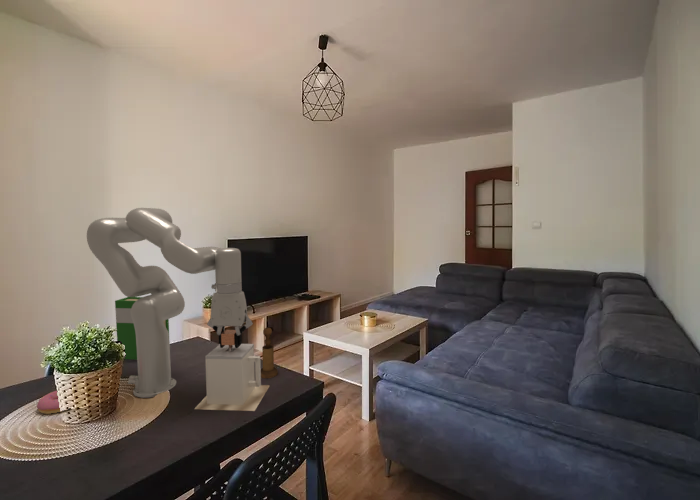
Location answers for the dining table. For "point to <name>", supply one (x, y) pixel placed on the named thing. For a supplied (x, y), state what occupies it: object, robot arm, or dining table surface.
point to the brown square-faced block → (228, 338)
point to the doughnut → (49, 403)
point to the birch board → (247, 406)
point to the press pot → (231, 374)
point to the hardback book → (128, 325)
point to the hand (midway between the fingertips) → (230, 345)
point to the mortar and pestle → (268, 356)
